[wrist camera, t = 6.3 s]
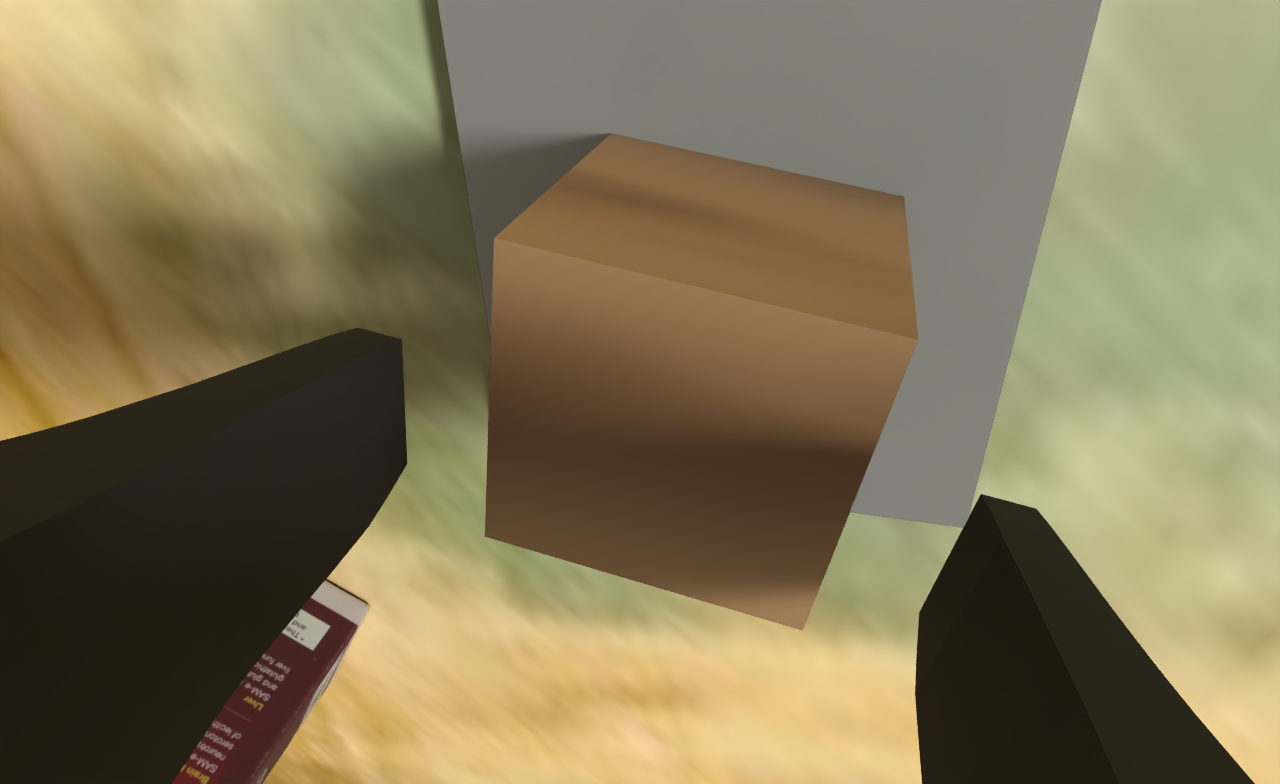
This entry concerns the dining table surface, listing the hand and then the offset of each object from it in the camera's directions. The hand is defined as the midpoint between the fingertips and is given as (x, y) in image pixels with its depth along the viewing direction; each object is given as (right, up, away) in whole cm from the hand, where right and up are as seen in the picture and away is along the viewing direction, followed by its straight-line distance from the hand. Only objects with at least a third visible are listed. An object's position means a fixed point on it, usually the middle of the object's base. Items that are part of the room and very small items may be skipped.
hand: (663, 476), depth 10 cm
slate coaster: (+1, +3, +5) cm, 6 cm away
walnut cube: (+1, +3, +5) cm, 6 cm away
